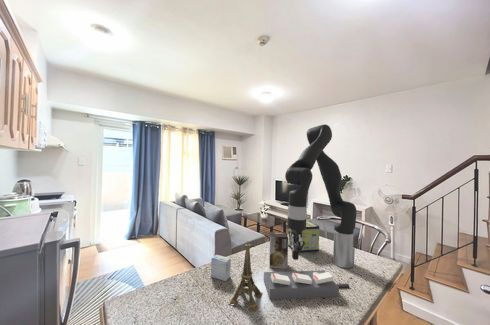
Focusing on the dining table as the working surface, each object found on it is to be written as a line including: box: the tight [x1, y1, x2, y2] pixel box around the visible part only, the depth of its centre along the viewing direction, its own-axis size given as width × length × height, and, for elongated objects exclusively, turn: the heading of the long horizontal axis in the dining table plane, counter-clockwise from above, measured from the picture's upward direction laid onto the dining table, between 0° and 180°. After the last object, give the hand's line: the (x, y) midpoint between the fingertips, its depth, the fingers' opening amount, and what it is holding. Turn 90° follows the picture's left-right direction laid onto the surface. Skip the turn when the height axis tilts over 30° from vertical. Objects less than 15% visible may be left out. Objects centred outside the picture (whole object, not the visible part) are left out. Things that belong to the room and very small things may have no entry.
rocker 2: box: [292, 273, 312, 284], centre depth 83 cm, size 7×4×2 cm, turn 96°
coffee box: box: [268, 231, 289, 270], centre depth 104 cm, size 9×6×16 cm
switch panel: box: [263, 270, 350, 300], centre depth 86 cm, size 36×12×5 cm, turn 96°
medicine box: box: [210, 254, 232, 282], centre depth 92 cm, size 8×4×9 cm, turn 65°
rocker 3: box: [313, 271, 334, 284], centre depth 84 cm, size 7×4×2 cm, turn 96°
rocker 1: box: [271, 273, 290, 285], centre depth 82 cm, size 7×4×2 cm, turn 96°
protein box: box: [288, 220, 320, 254], centre depth 125 cm, size 10×16×16 cm
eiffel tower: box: [228, 242, 263, 313], centre depth 78 cm, size 11×11×25 cm
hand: (295, 258), depth 83 cm, fingers closed
